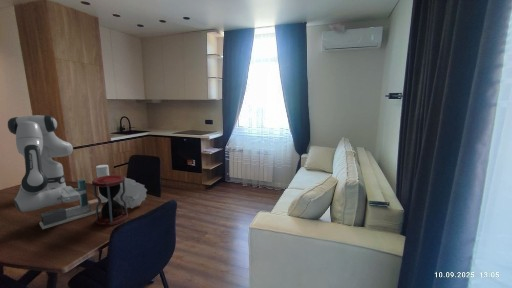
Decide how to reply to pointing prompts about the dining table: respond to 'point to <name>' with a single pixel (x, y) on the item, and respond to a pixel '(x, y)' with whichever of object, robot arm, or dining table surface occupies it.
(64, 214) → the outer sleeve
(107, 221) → the hourglass
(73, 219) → the base board
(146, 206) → the dining table surface
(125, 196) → the spiral staircase
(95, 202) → the salmon pink block
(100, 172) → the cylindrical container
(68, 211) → the teal oblong box
